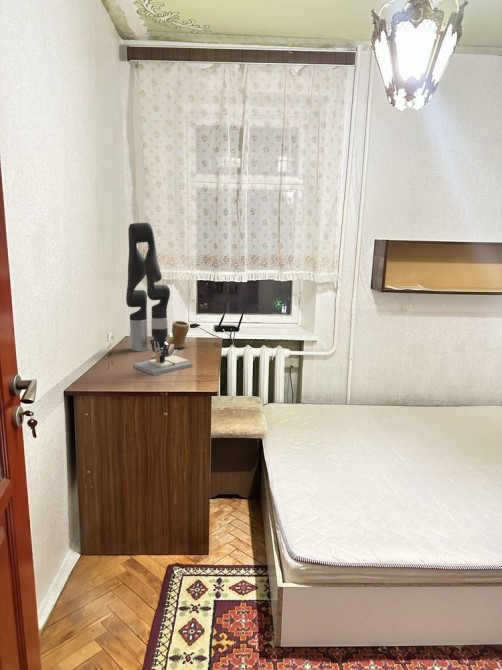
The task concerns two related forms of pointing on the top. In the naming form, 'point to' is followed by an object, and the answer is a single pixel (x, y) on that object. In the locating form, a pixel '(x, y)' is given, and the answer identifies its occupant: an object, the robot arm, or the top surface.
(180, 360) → the board
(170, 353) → the packaged product
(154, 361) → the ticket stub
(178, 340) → the brown hollow piece
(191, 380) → the top surface
